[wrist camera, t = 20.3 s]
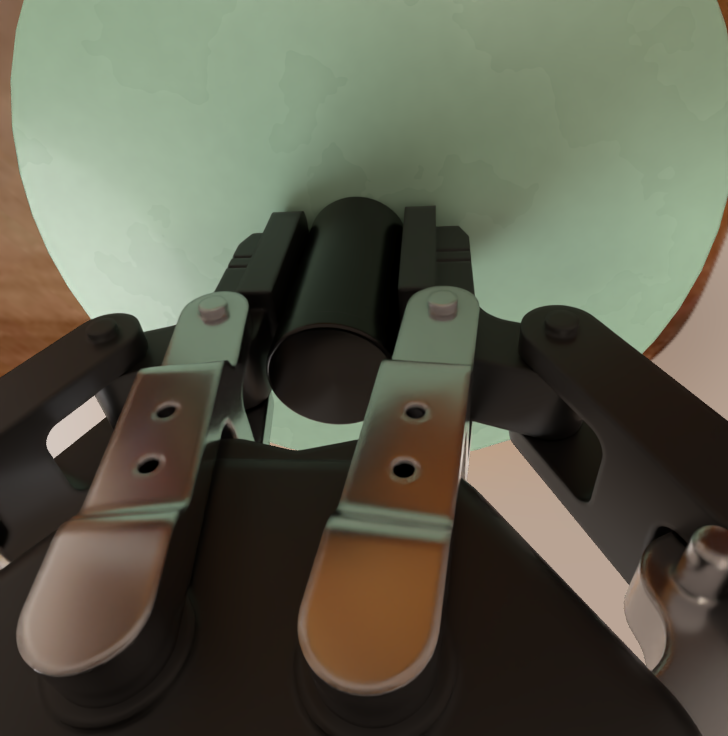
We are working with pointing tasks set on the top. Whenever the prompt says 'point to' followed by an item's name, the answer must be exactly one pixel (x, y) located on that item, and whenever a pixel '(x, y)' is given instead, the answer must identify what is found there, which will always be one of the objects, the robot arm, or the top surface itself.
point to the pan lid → (374, 162)
